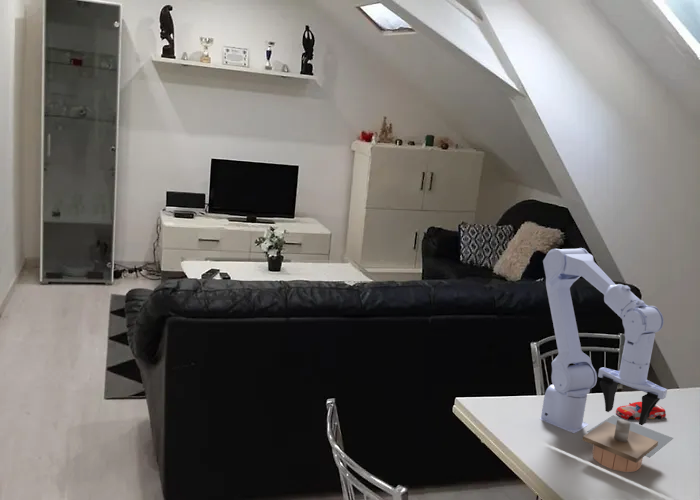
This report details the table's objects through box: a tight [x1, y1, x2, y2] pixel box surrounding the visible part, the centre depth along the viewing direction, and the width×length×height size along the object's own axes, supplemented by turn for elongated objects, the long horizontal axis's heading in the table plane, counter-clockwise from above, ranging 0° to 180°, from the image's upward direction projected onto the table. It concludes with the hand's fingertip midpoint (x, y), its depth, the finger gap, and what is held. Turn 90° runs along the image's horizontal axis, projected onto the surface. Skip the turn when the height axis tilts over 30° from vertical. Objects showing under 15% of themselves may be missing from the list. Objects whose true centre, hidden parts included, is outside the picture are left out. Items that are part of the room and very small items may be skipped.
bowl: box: [591, 445, 644, 473], centre depth 150 cm, size 10×10×4 cm
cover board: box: [581, 418, 658, 463], centre depth 149 cm, size 12×12×5 cm
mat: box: [586, 415, 674, 458], centre depth 163 cm, size 15×15×1 cm
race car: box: [615, 401, 667, 421], centre depth 174 cm, size 13×5×4 cm, turn 101°
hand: (625, 416), depth 150 cm, fingers open, 7 cm apart
